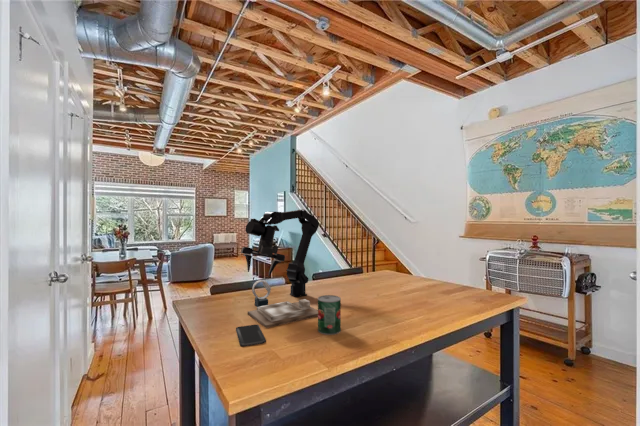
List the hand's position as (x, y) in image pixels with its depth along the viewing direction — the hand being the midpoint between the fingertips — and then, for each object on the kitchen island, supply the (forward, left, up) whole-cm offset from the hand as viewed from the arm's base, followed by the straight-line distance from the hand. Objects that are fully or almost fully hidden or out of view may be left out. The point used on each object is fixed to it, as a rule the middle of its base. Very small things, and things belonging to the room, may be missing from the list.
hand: (258, 273), depth 131 cm
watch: (-1, +1, -14) cm, 14 cm away
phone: (+15, +29, -14) cm, 36 cm away
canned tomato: (-9, +40, -14) cm, 43 cm away
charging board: (-4, +17, -14) cm, 22 cm away
